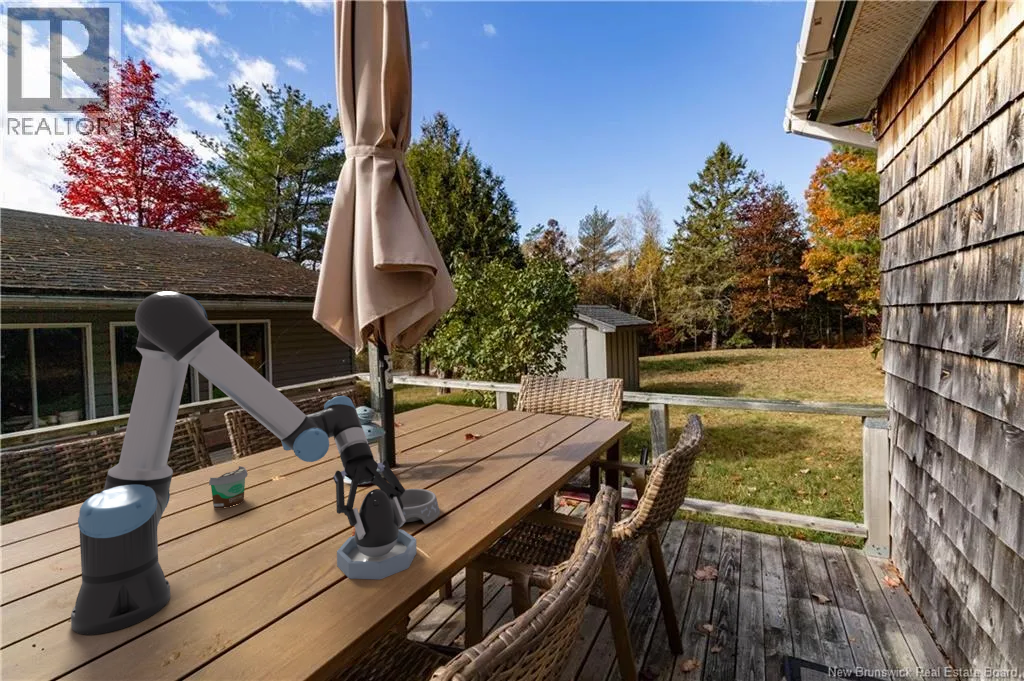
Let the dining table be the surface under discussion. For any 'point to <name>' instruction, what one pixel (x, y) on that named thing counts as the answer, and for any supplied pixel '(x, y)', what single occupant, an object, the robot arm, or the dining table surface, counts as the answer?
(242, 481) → the food container
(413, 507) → the dog bowl
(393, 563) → the bowl
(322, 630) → the dining table surface
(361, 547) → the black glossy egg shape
